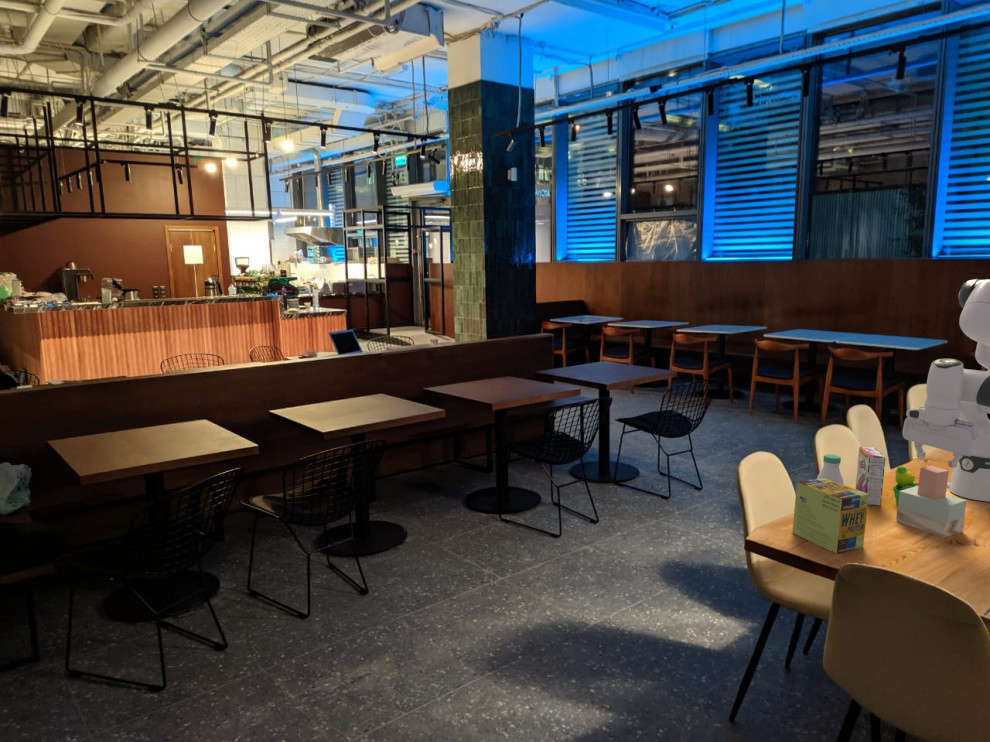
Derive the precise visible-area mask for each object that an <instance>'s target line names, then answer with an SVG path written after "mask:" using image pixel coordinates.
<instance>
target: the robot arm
mask: <svg viewBox="0 0 990 742" xmlns="http://www.w3.org/2000/svg"><path fill="white" fill-rule="evenodd" d="M958 303H959V306H960V307H961V308H962V311H961V313H960V316H959V324H958V325H959V327H960V329H961V331H962V332H963V334H964V335H965V336H966V337H968V338H969V339H970V340H973V341H975V342H976V343H977V344H976V349H975V353H974V354H975V355H974V357H975V360H976V361H977V363H978V364H979V365H981V366H982V367H984V369H986V370H977V369H967V368H964V363H963V362H962V361H960V360H959V359H955V358H939V359H936V360H934V361H932V362H931V364H930V367H929V369H928V370H929V371H928V374H927V380H926V386H925V392H926V398H925V400H924V401H925V402H924V405H923V406H920V407H917V408H910V409H907V410H906V414H905V415H906V418H905V420H904V422H903V427H902V438H903V439H904V440H906V441H910V442H913V446H914V448H915V451H916V457H917V458H918V459H919V458H920V459H921V460H922V459H925V458H926V455H927V452H926V451H924V449H923V446H924V445H925V446H928V447H932V448H936V449H940V450H943V451H947V452H951V453H952V456H953V459H951V460H948V463H947V466H948V467H950V468H952V471H951V472H952V473H951V475H950V476H951V477H950V482H947V488H948V489H949V492H950V493H953V494H954V495H956V496H959V497H961V498H965V499H970V500H974V501H981V502H983V501H984V502H990V419H989V417H988V414H989V415H990V279H987V278H986V279H980V278H975V279H970V280H967V281H966V282H964V283H963V284H962V285H961V288H960V290H959V293H958Z"/></svg>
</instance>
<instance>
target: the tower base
mask: <svg viewBox="0 0 990 742" xmlns="http://www.w3.org/2000/svg"><path fill="white" fill-rule="evenodd" d="M896 520H897V521H896ZM964 520H965V516H964V517H962V518H959V519H957V520H954V521H951V522H948V523H947V522H944V521H941V520H937V519H934V518H931V517H928V516H925V515H922V514H918V513H915V512H912V511H909V510H906V509H903V508H899V507H898V506H897V510H896V517H895V521H896V522H898V521H899V522H900V523H901V522H902V524H904V523H905V525H907V524H908V525H907V526H910V525H911V526H910V527H912V526H914V527H913V528H915V527H916V528H915V529H918V528H919V529H918V530H921V529H922V530H921V531H923V530H925V531H924V532H926V531H927V532H926V533H929V532H930V533H929V534H932V533H933V534H932V535H934V534H935V535H934V536H937V535H938V536H937V537H940V538H947V537H950V536H954V535H958V534H961V532H962V533H963V530H964V524H965V521H964ZM899 522H898V523H899Z"/></svg>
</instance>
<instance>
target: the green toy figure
mask: <svg viewBox="0 0 990 742" xmlns="http://www.w3.org/2000/svg"><path fill="white" fill-rule="evenodd" d="M894 480H895V482H896V483H897V485H895V486H892V491H893V493H894V497H895V502H896V504H898V501H899V492H900V491H901V490H905V489H908V488H911V487H915V486H918V485H919V482H916V481H915V480H916V477H915V474H913V473H912V471H910V470H908V468H907V467H906V466H904V465H902V466H900V465H899V466H897V468H896V470H895V479H894Z"/></svg>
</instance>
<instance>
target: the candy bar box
mask: <svg viewBox="0 0 990 742" xmlns="http://www.w3.org/2000/svg"><path fill="white" fill-rule="evenodd" d="M857 458H858V459H857V468H856V469H857V470H856V481H855V489H856V490H859V491H862V492H865V493H868V494H869V495H868V505H867V506H878V507H879V506H882V505H881V504H882V498H883V497H882V496H883V486H884V478H885V477H884V474H885V467H886V465H885V464H886V456H885V455H883V454H882V453H881V452H880V451H879V450H878V449H877V448H876V447H873V446H859V448H858V456H857Z"/></svg>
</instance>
